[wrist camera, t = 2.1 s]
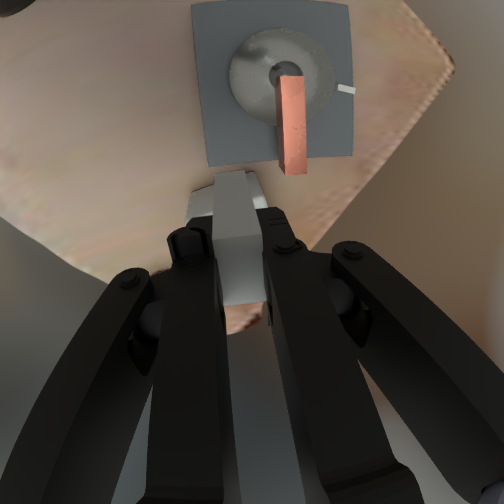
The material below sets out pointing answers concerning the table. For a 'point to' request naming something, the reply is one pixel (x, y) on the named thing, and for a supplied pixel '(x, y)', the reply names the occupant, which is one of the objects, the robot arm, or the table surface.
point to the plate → (220, 94)
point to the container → (204, 197)
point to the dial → (283, 87)
